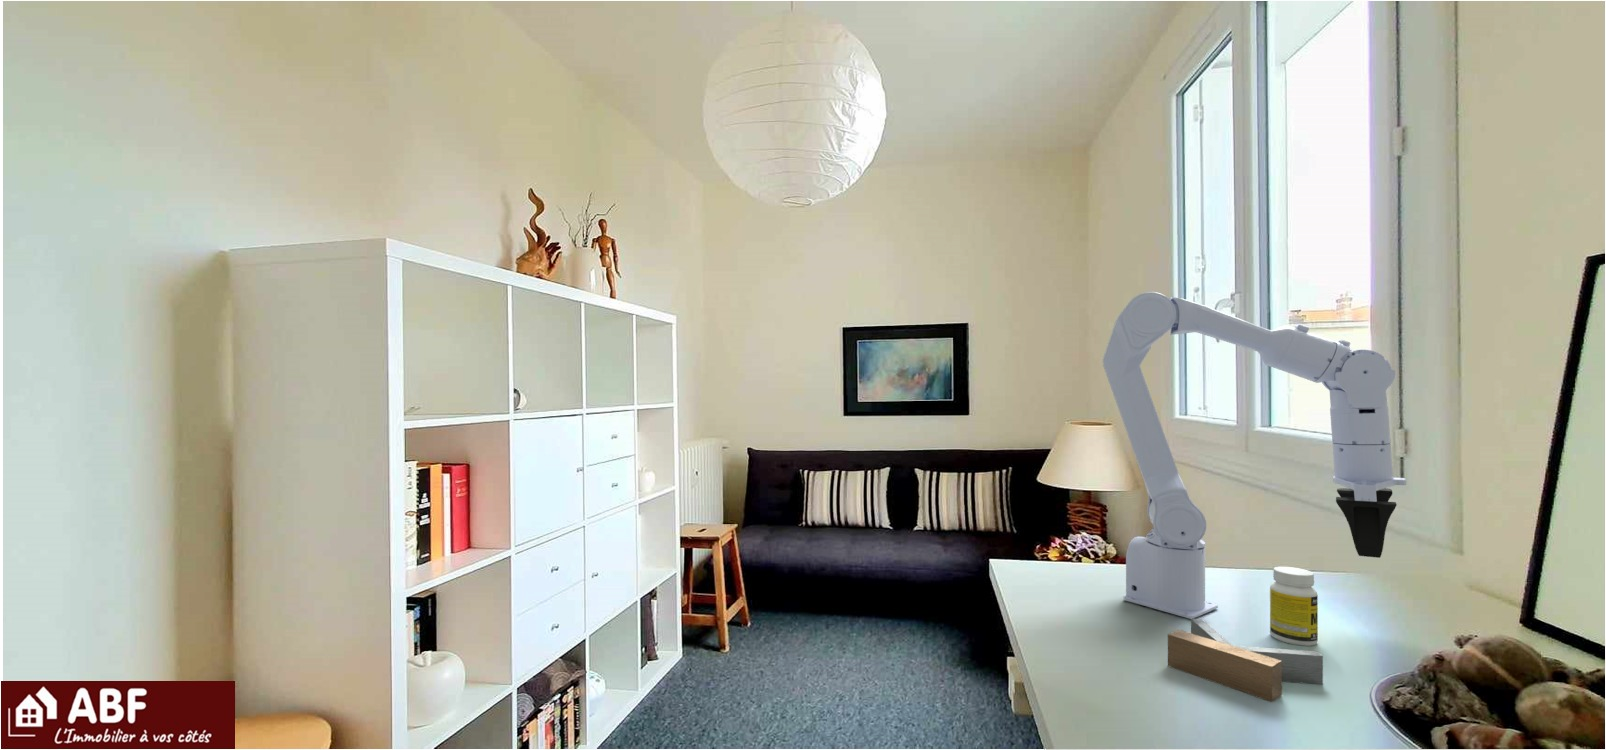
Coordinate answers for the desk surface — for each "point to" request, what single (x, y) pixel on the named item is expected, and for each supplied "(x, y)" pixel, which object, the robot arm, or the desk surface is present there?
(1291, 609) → the supplement bottle
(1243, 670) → the v block
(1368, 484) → the robot arm
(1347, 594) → the desk surface
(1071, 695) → the desk surface
